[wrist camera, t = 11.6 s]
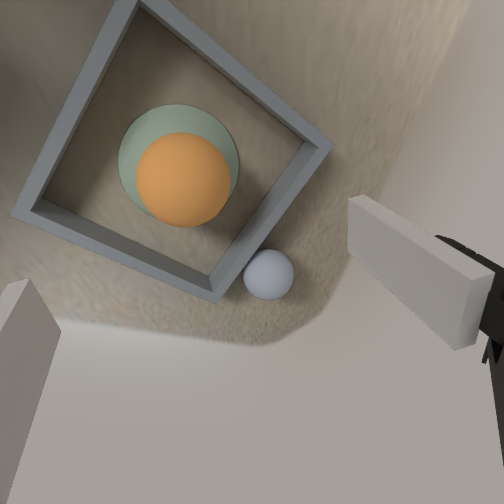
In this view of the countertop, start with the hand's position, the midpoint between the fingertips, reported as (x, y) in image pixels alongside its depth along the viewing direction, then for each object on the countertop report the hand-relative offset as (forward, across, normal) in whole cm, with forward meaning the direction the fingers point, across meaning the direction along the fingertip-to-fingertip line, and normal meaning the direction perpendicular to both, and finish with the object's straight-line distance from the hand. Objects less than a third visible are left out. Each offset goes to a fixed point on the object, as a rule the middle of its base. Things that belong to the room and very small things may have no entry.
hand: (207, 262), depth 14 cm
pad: (+17, 0, 0) cm, 17 cm away
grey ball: (+17, +6, -12) cm, 21 cm away
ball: (+17, 0, 0) cm, 17 cm away
